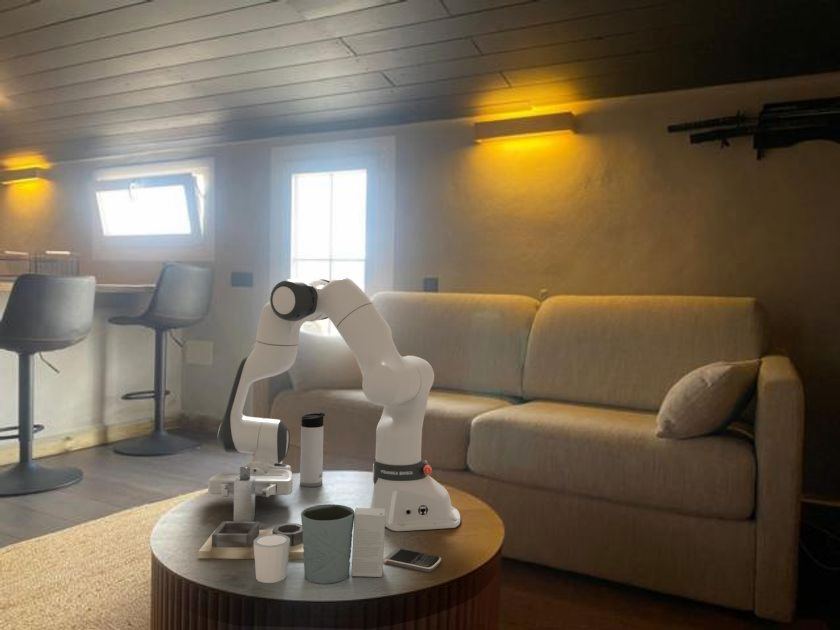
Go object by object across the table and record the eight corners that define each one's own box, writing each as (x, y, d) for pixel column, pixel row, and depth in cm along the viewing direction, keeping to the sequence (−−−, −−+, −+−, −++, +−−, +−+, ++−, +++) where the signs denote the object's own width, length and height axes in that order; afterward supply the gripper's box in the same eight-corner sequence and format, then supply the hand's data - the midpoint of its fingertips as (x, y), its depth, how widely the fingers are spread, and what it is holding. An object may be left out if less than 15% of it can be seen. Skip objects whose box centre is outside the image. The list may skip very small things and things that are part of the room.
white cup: (256, 568, 125) (256, 533, 125) (291, 568, 125) (292, 533, 125) (249, 584, 118) (249, 547, 118) (287, 584, 118) (287, 546, 118)
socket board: (315, 537, 142) (316, 519, 142) (308, 559, 130) (309, 539, 130) (215, 536, 141) (215, 518, 141) (198, 558, 129) (198, 538, 129)
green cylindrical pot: (295, 584, 118) (296, 520, 118) (306, 562, 128) (306, 502, 128) (350, 585, 118) (351, 521, 118) (356, 563, 128) (357, 503, 128)
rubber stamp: (254, 517, 153) (255, 465, 153) (250, 523, 149) (251, 470, 149) (237, 517, 153) (238, 465, 153) (233, 523, 149) (234, 470, 149)
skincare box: (382, 568, 126) (386, 508, 126) (382, 577, 122) (386, 515, 122) (351, 567, 126) (355, 506, 126) (350, 576, 122) (354, 514, 122)
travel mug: (326, 485, 180) (328, 414, 180) (304, 488, 177) (305, 416, 177) (318, 479, 186) (320, 411, 185) (296, 482, 183) (298, 412, 182)
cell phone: (431, 576, 125) (431, 568, 125) (380, 565, 129) (380, 558, 129) (443, 564, 130) (443, 557, 130) (394, 553, 135) (394, 547, 135)
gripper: (216, 464, 164) (200, 479, 150) (296, 465, 165) (287, 480, 151) (216, 488, 164) (199, 506, 150) (296, 489, 165) (287, 507, 151)
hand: (244, 493), depth 151 cm, fingers open, 8 cm apart
